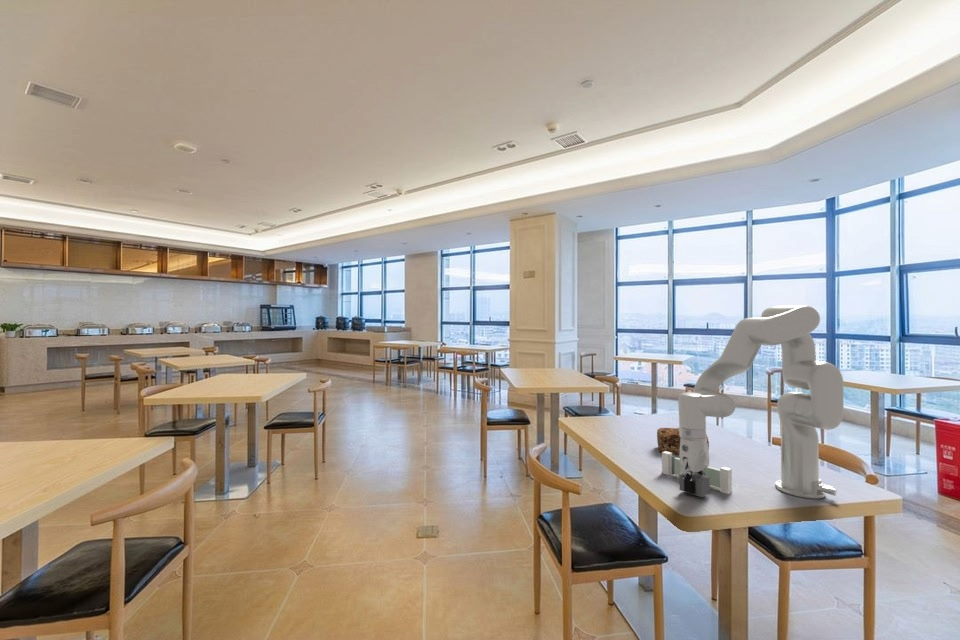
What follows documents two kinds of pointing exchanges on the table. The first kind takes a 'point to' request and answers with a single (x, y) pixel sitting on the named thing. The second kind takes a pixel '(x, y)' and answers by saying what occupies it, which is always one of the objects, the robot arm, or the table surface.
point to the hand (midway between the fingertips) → (694, 489)
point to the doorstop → (697, 484)
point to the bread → (670, 440)
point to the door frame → (724, 484)
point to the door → (709, 471)
